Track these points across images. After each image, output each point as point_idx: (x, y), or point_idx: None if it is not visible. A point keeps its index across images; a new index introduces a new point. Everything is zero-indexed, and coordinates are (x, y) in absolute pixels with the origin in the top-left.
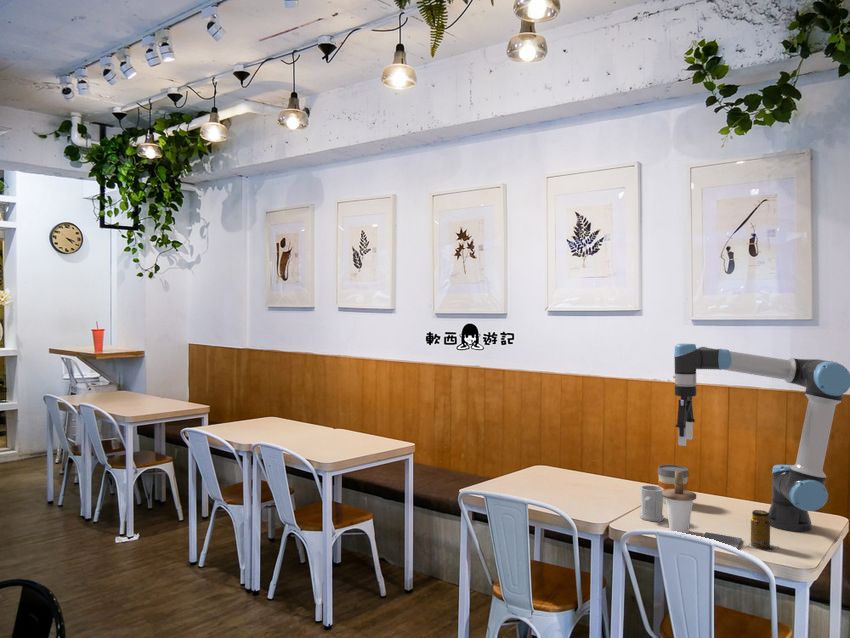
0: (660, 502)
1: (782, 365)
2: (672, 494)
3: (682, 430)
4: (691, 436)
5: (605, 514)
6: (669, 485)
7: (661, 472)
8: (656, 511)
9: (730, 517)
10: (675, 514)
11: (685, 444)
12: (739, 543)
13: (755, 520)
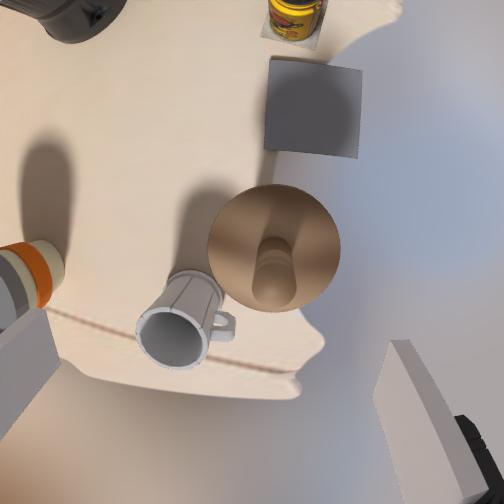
0: (193, 296)
1: None
2: (309, 272)
3: (492, 473)
4: (31, 331)
5: (225, 386)
6: (40, 290)
7: None
8: (208, 294)
9: (77, 118)
10: None
11: (411, 351)
12: (318, 64)
13: (318, 4)
